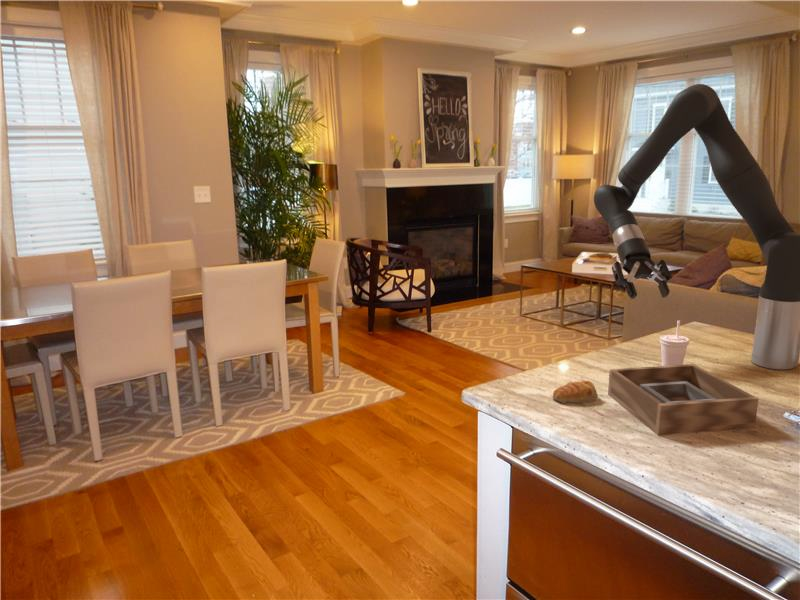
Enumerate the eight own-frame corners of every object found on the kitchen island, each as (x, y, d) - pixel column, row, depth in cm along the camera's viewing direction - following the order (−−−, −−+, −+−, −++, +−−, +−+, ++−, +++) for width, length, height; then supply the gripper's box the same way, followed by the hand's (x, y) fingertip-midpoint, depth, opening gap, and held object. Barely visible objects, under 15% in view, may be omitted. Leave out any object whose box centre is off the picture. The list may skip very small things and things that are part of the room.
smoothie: (688, 382, 136) (694, 324, 133) (659, 380, 137) (664, 323, 134) (681, 372, 142) (687, 317, 139) (653, 371, 143) (658, 316, 140)
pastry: (563, 408, 123) (564, 391, 122) (545, 397, 129) (546, 380, 128) (600, 401, 126) (601, 385, 125) (580, 391, 132) (581, 375, 132)
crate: (691, 389, 132) (693, 364, 130) (754, 427, 112) (758, 398, 111) (607, 394, 129) (609, 369, 128) (658, 435, 110) (660, 405, 109)
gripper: (611, 237, 151) (630, 289, 143) (662, 235, 153) (683, 287, 144) (600, 254, 157) (617, 305, 149) (649, 252, 159) (669, 303, 151)
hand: (650, 296), depth 147 cm, fingers open, 8 cm apart
